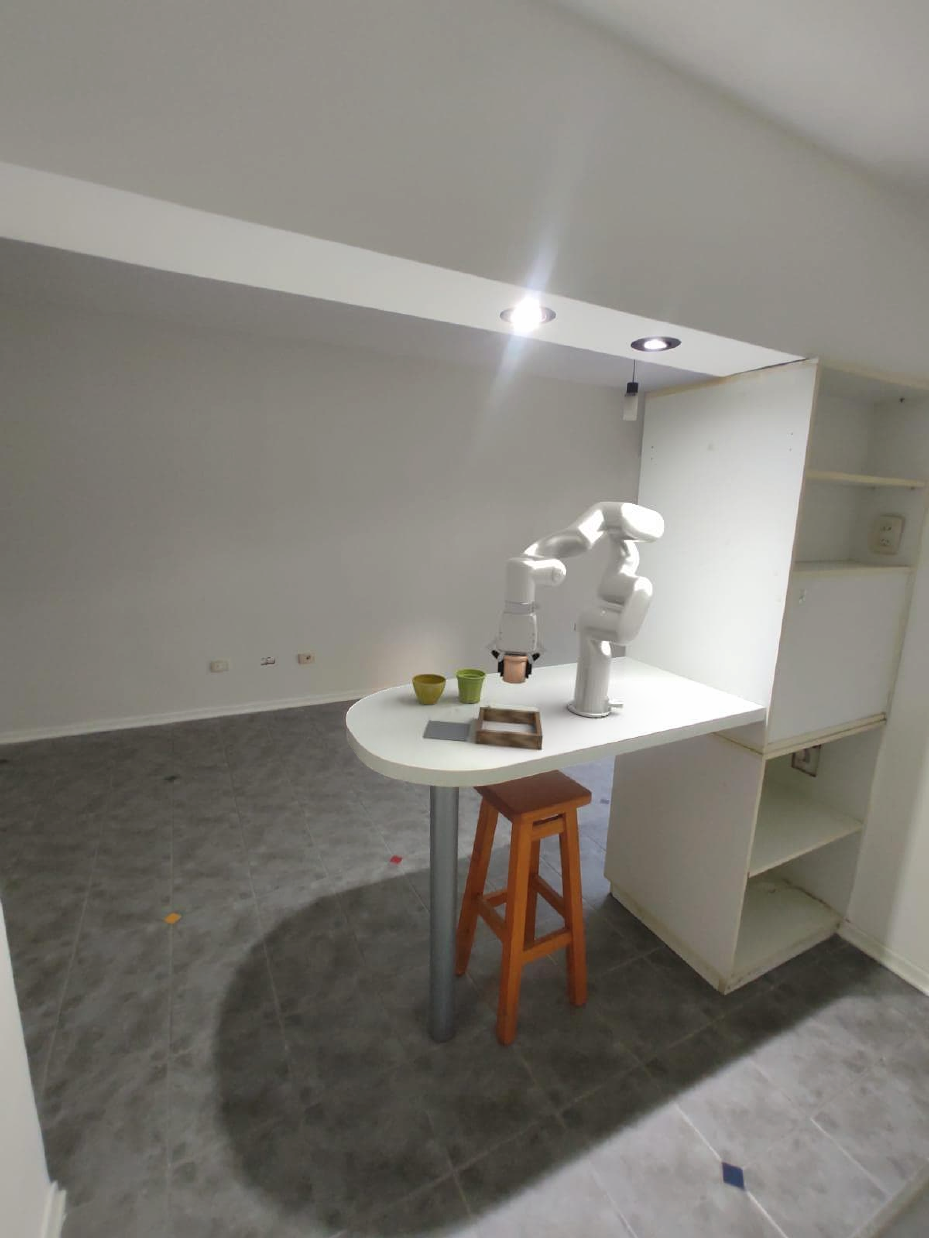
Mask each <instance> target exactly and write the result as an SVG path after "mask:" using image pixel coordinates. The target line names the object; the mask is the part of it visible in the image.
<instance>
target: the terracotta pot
mask: <svg viewBox="0 0 929 1238" xmlns="http://www.w3.org/2000/svg"><path fill="white" fill-rule="evenodd" d="M527 660H528V656H527V655H526V653H517V652H505V654H504V655H503V662H504V663H503V677H501V680H502V681H503V682H505V683H507V684H513V685H520V684H524V683H525V682H526V665H527Z"/></svg>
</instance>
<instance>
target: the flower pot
mask: <svg viewBox="0 0 929 1238" xmlns="http://www.w3.org/2000/svg"><path fill="white" fill-rule="evenodd" d="M411 682H412V687H413V690H414V693H415V695H416V698H417V700H418V701H419V702H420V703H421V704H422V703H423V704H422V705H435V704H437V703H438V702H439V700H440V698H441V697H442V695H443V693H444V691H445V687H446V683H447V678H446V676H442V675H441V674H434V673H421V674H417V675H414V676H412V678H411Z"/></svg>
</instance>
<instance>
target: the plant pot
mask: <svg viewBox="0 0 929 1238" xmlns="http://www.w3.org/2000/svg"><path fill="white" fill-rule="evenodd" d="M454 675H455V676H456V680H457V686H458V688H457V689H458V698H459V701H460V702H462V703H464V704H469V703H471V704H476V703H479V702H480V700H481V699H480V698H481V694H482V690H483V684H484V681H485V679H486V677H487V673H486V671H484V670H482V669H478V668H460V669H458V670H456V671H455V672H454Z"/></svg>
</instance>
